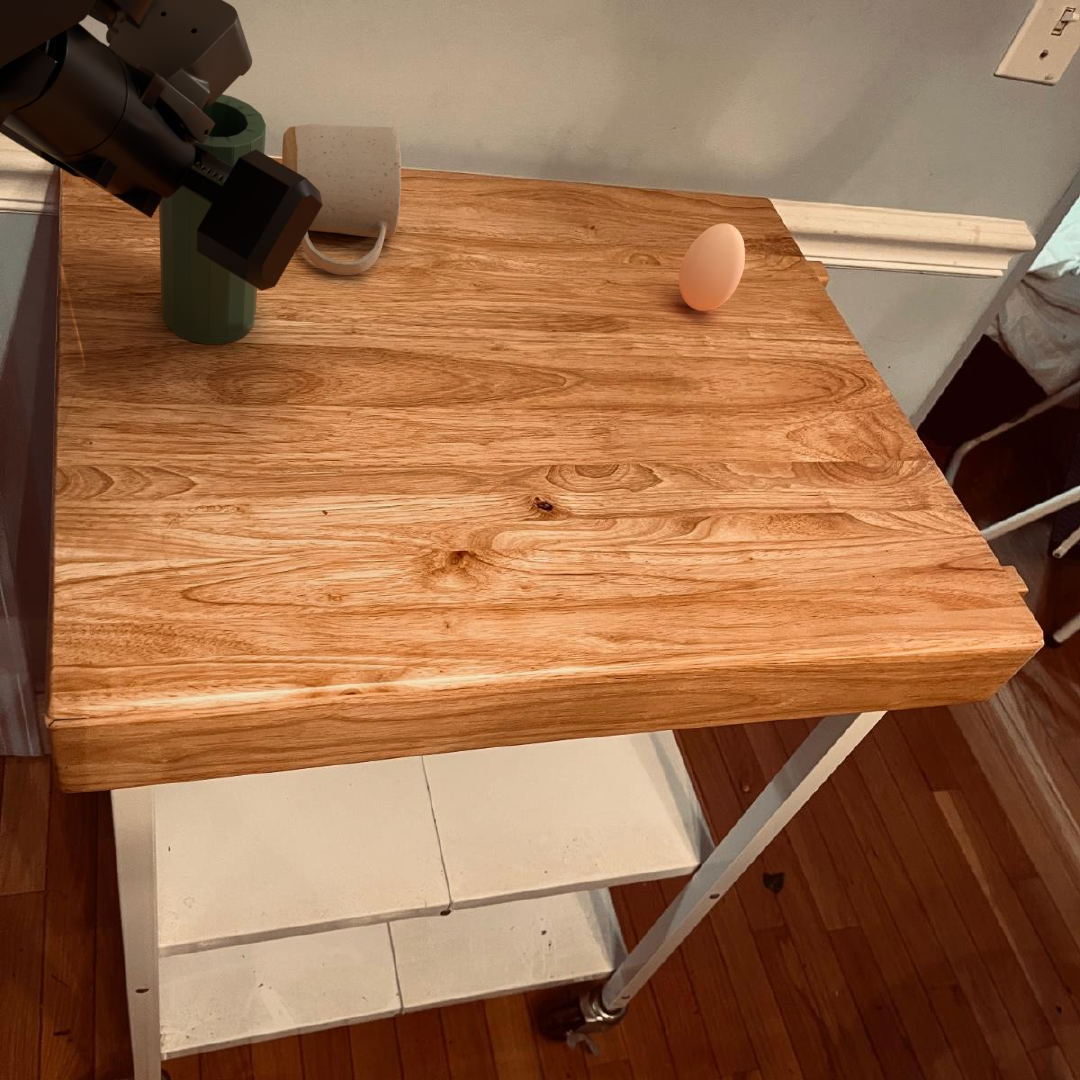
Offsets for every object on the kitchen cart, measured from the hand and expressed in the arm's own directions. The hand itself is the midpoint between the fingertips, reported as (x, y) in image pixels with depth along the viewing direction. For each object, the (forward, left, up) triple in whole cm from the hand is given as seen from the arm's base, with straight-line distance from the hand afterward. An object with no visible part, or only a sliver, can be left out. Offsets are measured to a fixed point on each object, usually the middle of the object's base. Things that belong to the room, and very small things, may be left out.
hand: (227, 214), depth 66 cm
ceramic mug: (+7, +11, -7) cm, 15 cm away
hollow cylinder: (-1, -1, -7) cm, 7 cm away
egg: (+35, +10, -7) cm, 37 cm away
